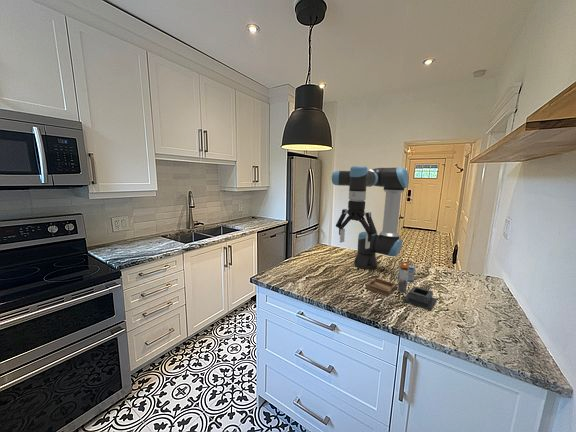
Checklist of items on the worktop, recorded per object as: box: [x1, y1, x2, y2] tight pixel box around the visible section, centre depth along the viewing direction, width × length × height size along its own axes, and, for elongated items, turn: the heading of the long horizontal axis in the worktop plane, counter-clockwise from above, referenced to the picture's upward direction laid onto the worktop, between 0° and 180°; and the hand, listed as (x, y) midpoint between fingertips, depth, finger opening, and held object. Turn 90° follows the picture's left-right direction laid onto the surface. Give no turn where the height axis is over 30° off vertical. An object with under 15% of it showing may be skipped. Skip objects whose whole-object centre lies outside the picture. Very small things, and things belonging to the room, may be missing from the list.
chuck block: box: [402, 285, 438, 312], centre depth 118 cm, size 12×12×5 cm
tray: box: [365, 277, 398, 297], centre depth 131 cm, size 12×12×3 cm
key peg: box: [397, 261, 410, 293], centre depth 128 cm, size 4×4×15 cm
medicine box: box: [397, 263, 416, 283], centre depth 143 cm, size 8×4×9 cm, turn 62°
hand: (354, 245), depth 116 cm, fingers open, 13 cm apart
